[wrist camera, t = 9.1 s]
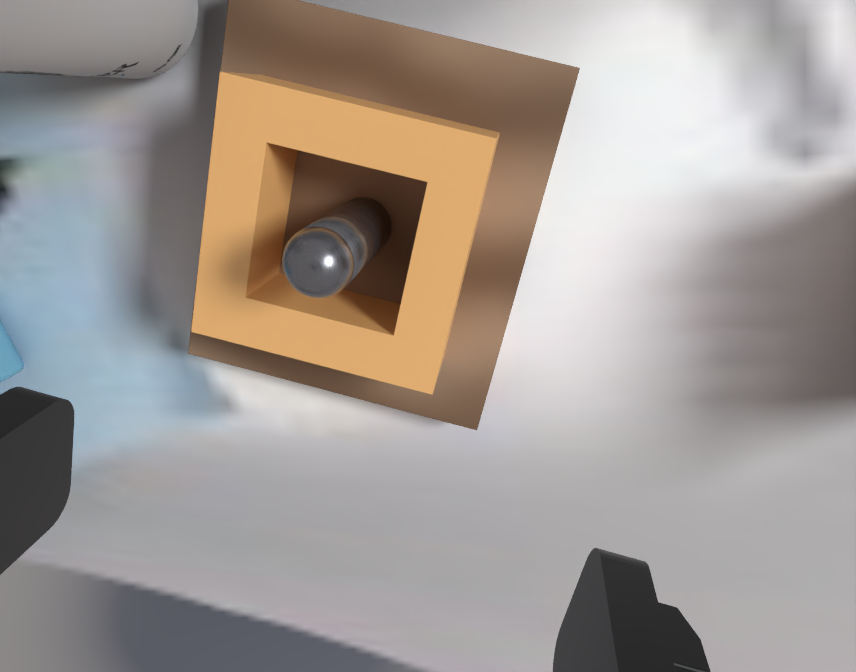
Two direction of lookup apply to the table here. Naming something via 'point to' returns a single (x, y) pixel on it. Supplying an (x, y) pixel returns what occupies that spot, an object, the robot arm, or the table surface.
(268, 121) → the ring
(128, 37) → the energy drink can
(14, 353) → the blue carton
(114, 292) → the table surface
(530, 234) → the stand
